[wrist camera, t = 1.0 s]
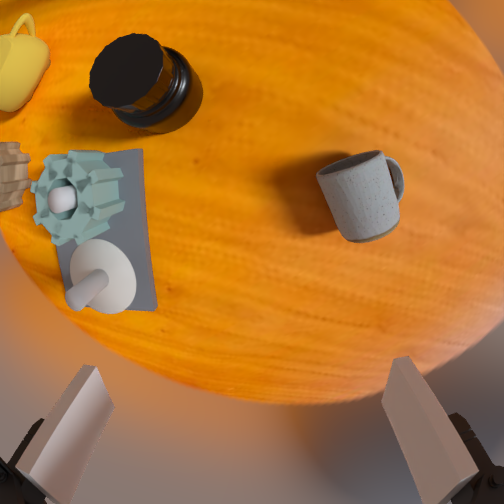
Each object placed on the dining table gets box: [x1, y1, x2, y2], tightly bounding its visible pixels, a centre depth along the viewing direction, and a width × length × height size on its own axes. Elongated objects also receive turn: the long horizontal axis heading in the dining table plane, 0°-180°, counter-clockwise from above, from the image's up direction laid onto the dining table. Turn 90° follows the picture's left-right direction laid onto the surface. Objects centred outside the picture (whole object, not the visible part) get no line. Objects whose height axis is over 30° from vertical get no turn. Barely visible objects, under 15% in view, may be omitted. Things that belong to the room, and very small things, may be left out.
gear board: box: [30, 149, 158, 314], centre depth 30 cm, size 21×14×8 cm, turn 1°
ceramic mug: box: [316, 150, 404, 243], centre depth 28 cm, size 11×8×8 cm
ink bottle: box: [89, 33, 203, 133], centre depth 23 cm, size 10×9×12 cm
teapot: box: [0, 13, 51, 112], centre depth 22 cm, size 18×11×11 cm, turn 144°
